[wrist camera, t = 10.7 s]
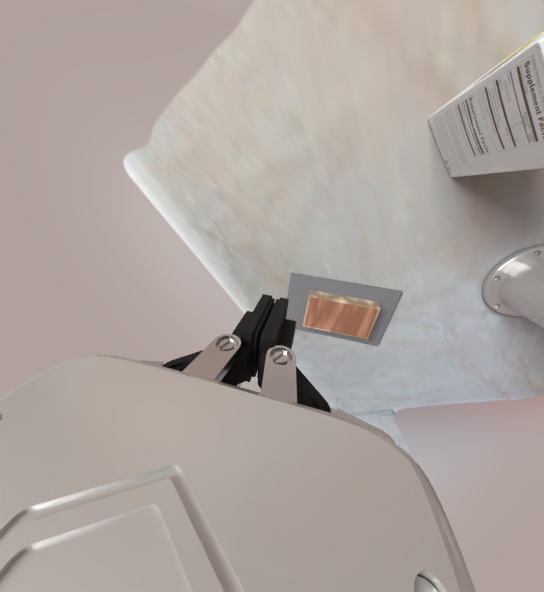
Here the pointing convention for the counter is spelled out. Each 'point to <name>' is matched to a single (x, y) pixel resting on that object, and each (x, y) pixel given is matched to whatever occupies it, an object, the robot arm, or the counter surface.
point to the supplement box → (496, 118)
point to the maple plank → (340, 314)
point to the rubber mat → (305, 283)
